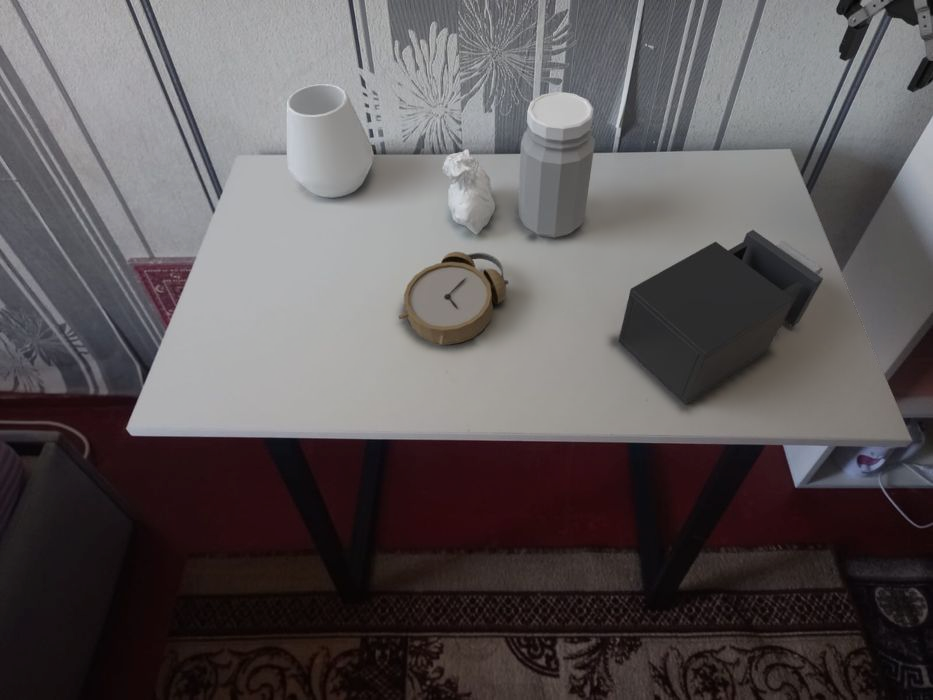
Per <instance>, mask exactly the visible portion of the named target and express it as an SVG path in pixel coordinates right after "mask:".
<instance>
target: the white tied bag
mask: <svg viewBox="0 0 933 700" xmlns="http://www.w3.org/2000/svg"><path fill="white" fill-rule="evenodd" d="M442 172H443V173H444V174H445V175H446V176H447V177H448V178H449V179H450V181H451V182H452V183H451V184H450V185H449V186H448V190H447V194H448V195H447V196H448V197H447V198H448V199H447V205H448V208H449V210H450V213H451V218H452V219H453V221H454V222H455V223H457V224H458V225H461V226H463V227H466V228H468V230H469V231H470V232H472V233H473V234H474V235H479V234H480V233H481V231H482V230H483V228H485V227H486V226H488V224H489V221H490V219H491V218H492V216H493V214H494V213H495V209H496V204H495V200H494V197H493V195H492V187H491V179H490V175H488V173H487V171H486V170H485V168H483V166H482V165H480V163H479V160H478V159H476V158H475V157H474V156H471V152H470V150H469V149H467V148H466V149H464V150H463V151H458V152H454V153H451V154H448V155H447V156H446V158H445V160H444V162H443V166H442Z"/></svg>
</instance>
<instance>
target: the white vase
mask: <svg viewBox="0 0 933 700" xmlns="http://www.w3.org/2000/svg"><path fill="white" fill-rule="evenodd" d="M355 109H356V108H355V107H354V105H353V102H352V101H351V99H350V97H349V95H348V93H347V91H346V90H344V89H343V88H342V87H341V86H338V85H334V84H331V83H317V84H311V85H306V86H304V87H301V88H299V89H297V90H295V91H294V92H293V93H292V94H290V95H289V97H288V98H287V101H286V159H287V160H286V161H287V169H288V172H289V174H290V175H291V176H292V177H293V178H294V179H295V180H296V181H297V182H298V183H299V184H300V185H302V186H303V187H304V188H306V189H307V190H308V191H309V192H310V193H312V194H314V195H316V196H319V197H321V198H330V199H334V198H335V199H336V198H340V197H346V196H348V195H350V194H353V193H354V192H356V191H357V190H359V188H360V187H361V186H362V185H363V183H364V182H365V179H366V178H367V175H368V174H369V171H370V169H371V167H372V165H373V162H374V158H375V154H374V150H373V146H372V144H371V141H370V138H369V136H368V134H367V132H366V130H365V128H364V126H363V124H362V122H361V120H360V117H359V115H358V114H357V112H356V110H355Z"/></svg>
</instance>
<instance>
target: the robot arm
mask: <svg viewBox="0 0 933 700" xmlns="http://www.w3.org/2000/svg"><path fill="white" fill-rule="evenodd" d="M862 2H863V0H839V1H838V3H837V6H836V8H835V11H836V14H837V15H838V16H842V17H844V18H845V19H846V20H847V27H846V29H845V32H844V35H843V37H842V39H841V42H840V44H839V46H838V53H839V54H840V55H839V59H840V60H841V61H844V62H847V61H848V60H850V59H853V58H854V57H855V56H856V55H857V53H858V51H859V49H860V47H861V44H862V42H863V40H864V38H865V35H866V33H867V31H868V29H869V27H870V23H868V21H869V20H870V19H872V18H874V17H875V16H876V15H878V14H879V13H881V12H883V11H886V13H887V15H886V16H888V17H890V18H892V19H899V20H902V21H903V22H905V23H906V24H907V25H910V26H911V27H916V26H918V30H919V36H920V39H921V40H923V42H924V47H925V54H926V56H924V57H922V59H921V61H920V63H919V65H918V66H917V68H916V70H915V72H914V75H913V76H912V78H911V80H910V82H909V83H908V85H907V87H906V90H907V91H909V92H912V93H915V92H918V91H919V90H922V89H924V88H926V87H928V86H929V85H930V84H931V83H933V0H871V1H869V2H868V3H867V4H865V5H864V6H863V5H862V4H861V3H862Z"/></svg>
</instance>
